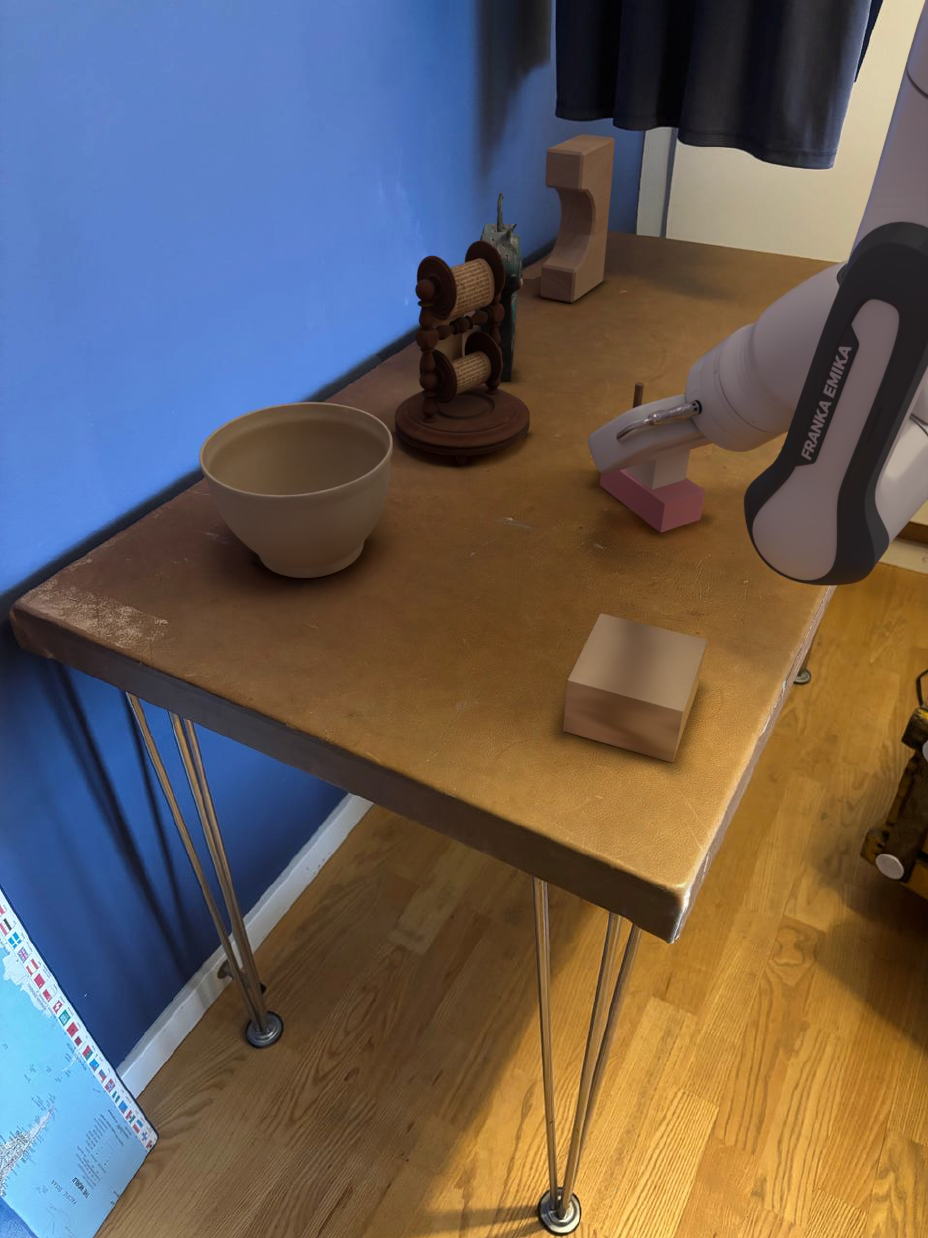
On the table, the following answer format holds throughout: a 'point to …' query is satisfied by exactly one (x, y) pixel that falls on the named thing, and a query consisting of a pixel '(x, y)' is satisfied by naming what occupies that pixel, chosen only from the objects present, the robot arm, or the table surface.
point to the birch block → (634, 686)
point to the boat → (657, 488)
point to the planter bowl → (300, 483)
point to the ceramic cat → (506, 284)
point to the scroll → (461, 361)
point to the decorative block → (578, 215)
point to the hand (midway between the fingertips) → (653, 449)
